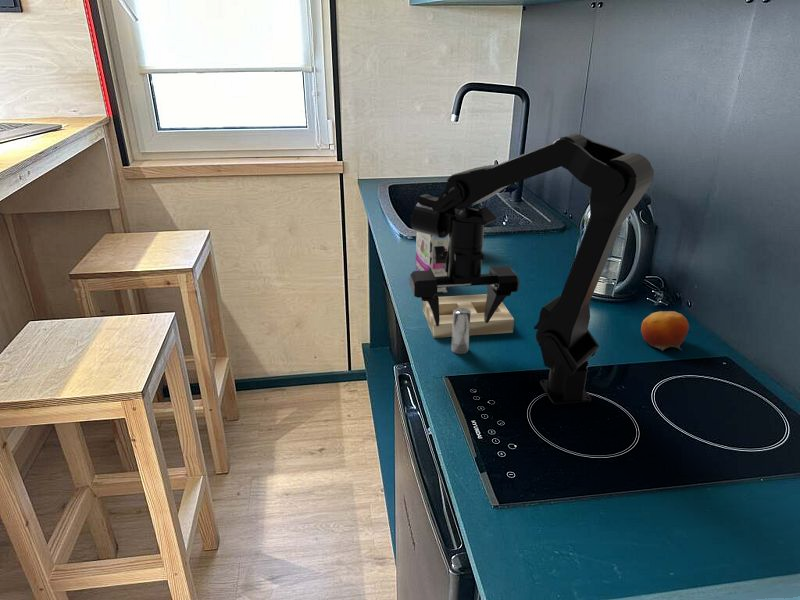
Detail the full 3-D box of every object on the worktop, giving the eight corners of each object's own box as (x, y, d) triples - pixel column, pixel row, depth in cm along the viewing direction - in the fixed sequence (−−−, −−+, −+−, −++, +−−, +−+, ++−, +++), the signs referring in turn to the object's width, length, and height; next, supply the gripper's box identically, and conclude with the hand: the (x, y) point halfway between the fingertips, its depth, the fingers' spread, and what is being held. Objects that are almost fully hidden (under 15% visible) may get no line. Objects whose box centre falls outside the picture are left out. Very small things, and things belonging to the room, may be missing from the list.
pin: (470, 353, 105) (472, 315, 101) (453, 354, 104) (455, 316, 101) (465, 344, 107) (468, 307, 104) (449, 345, 107) (451, 308, 103)
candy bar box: (449, 293, 128) (452, 224, 121) (428, 295, 127) (430, 226, 120) (434, 274, 138) (436, 209, 131) (414, 276, 137) (415, 211, 130)
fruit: (665, 355, 101) (658, 311, 102) (637, 355, 109) (630, 314, 110) (703, 349, 103) (695, 306, 104) (672, 350, 111) (666, 310, 112)
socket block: (512, 332, 112) (514, 319, 110) (433, 337, 110) (434, 324, 108) (495, 305, 122) (496, 293, 121) (422, 310, 120) (423, 297, 119)
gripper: (504, 226, 105) (497, 301, 112) (405, 231, 102) (405, 307, 109) (524, 247, 95) (516, 328, 102) (415, 252, 93) (414, 335, 99)
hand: (461, 323), depth 103 cm, fingers open, 9 cm apart
